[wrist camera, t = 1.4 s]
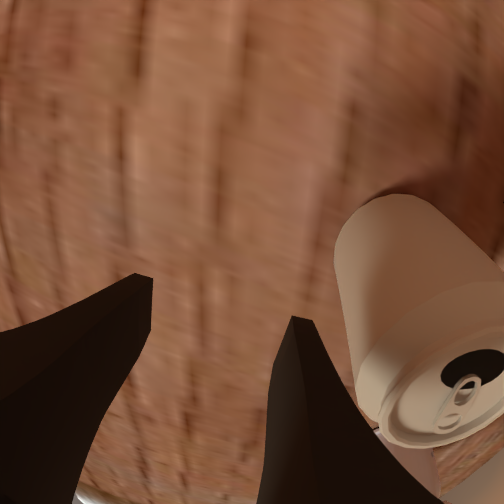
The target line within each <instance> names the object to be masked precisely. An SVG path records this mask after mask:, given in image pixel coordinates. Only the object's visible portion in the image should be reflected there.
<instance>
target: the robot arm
mask: <svg viewBox="0 0 504 504" xmlns="http://www.w3.org/2000/svg"><path fill="white" fill-rule="evenodd" d="M152 291H153V278H150V277H147V276H143V275H140V274H137V273H134V274H132V275H129V276H127V277H125V278H124V279H122V280H120V281H118V282H116V283H114V284H112V285H110V286H108V287H107V288H105V289H103V290H101V291H99V292H97V293H95V294H93V295H91V296H89V297H87V298H86V299H84V300H82V301H80V302H77V303H75V304H73V305H71V306H69V307H67V308H65V309H62V310H60V311H58V312H56V313H54V314H52V315H49V316H47V317H45V318H42V319H40V320H37V321H34V322H32V323H29V324H26V325H23V326H20V327H17V328H14V329H11V330H7V331H4V332H0V504H72V501H73V497H74V493H75V490H76V487H77V484H78V481H79V478H80V475H81V471H82V468H83V466H84V463H85V460H86V458H87V455H88V452H89V450H90V447H91V444H92V442H93V440H94V437H95V435H96V432H97V430H98V428H99V425H100V423H101V421H102V419H103V417H104V415H105V413H106V411H107V409H108V408H109V406H110V404H111V403H112V401H113V399H114V397H115V396H116V394H117V392H118V391H119V389H120V387H121V386H122V384H123V382H124V381H125V379H126V378H127V376H128V374H129V373H130V371H131V369H132V368H133V366H134V364H135V363H136V361H137V359H138V357H139V356H140V353H141V351H142V349H143V347H144V345H145V342H146V340H147V338H148V335H149V333H150V331H151V311H152ZM433 448H434V447H432V448H426V449H417V448H404V447H402V446H399V445H396V444H393V443H391V442H389V441H388V440H387V439H386V438H385V437H384V436H383V435H382V434H381V433H380V431H379V428H378V429H376V430H372V428H371V427H370V426H369V424H368V423H367V421H366V420H365V419H364V417H363V416H362V414H361V413H360V411H359V410H358V408H357V407H356V405H355V404H354V402H353V400H352V398H351V397H350V395H349V393H348V392H347V390H346V388H345V386H344V384H343V383H342V381H341V379H340V377H339V375H338V373H337V371H336V369H335V367H334V365H333V363H332V361H331V359H330V357H329V355H328V353H327V351H326V349H325V347H324V344H323V342H322V340H321V338H320V336H319V333H318V331H317V329H316V327H315V324H314V323H313V321H312V320H309V319H304V318H300V317H296V316H292V317H291V319H290V322H289V325H288V327H287V330H286V333H285V335H284V338H283V340H282V343H281V346H280V348H279V351H278V353H277V356H276V358H275V361H274V363H273V369H272V374H271V380H270V386H269V392H268V406H267V424H266V441H265V457H264V466H263V472H262V478H261V483H260V488H259V494H258V499H257V503H256V504H452V503H449V502H447V501H443V502H442V501H441V500H439V499H438V498H439V496H440V492H441V485H440V480H439V475H438V470H437V465H436V461H435V456H434V452H433Z"/></svg>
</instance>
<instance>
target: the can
mask: <svg viewBox="0 0 504 504" xmlns="http://www.w3.org/2000/svg"><path fill="white" fill-rule="evenodd" d="M334 267H335V272H336V277H337V282H338V287H339V292H340V298H341V303H342V308H343V314H344V319H345V325H346V331H347V337H348V343H349V349H350V356H351V362H352V369H353V376H354V383H355V390H356V395H357V400H358V405H359V407H360V408H361V409H362V410H363V411H364V412H365V414H366V415H367V416H368V417H369V418H370V419H371V420H373V421H375V422H378V423H379V431H380V433H381V434H382V435H383V436H384V437H385V438H386V439H387V440H388V441H389V442H391V443H393V444H396V445H399V446H402V447H404V448H417V449H426V448H432V447H438V446H443V445H447V444H450V443H452V442H455V441H458V440H461V439H464V438H466V437H468V436H470V435H472V434H473V433H475V432H477V431H479V430H481V429H483V428H484V427H486V426H487V425H489V424H490V423H491V422H493V421H494V420H495V419H497V418H498V417H499V416H501V415H502V414H503V413H504V272H503V271H502V270H501V269H500V268H499V267H498V266H497V265H496V264H495V263H494V262H493V261H492V260H491V259H490V258H489V257H488V256H487V255H486V254H485V253H484V252H483V251H482V250H481V249H480V248H479V247H478V246H477V245H476V244H475V243H474V242H473V241H472V240H471V239H470V238H469V237H468V236H467V235H466V234H464V233H463V232H462V231H461V230H460V229H459V228H458V227H457V226H456V225H455V224H453V223H452V222H451V221H450V220H449V219H448V218H447V217H446V216H444V215H443V214H442V213H441V212H440V211H439V210H437V209H436V208H435V207H434V206H433V205H432V204H430V203H429V202H427V201H425V200H422V199H420V198H418V197H416V196H414V195H405V194H390V195H387V196H383V197H379V198H375V199H373V200H371V201H370V202H368V203H367V204H365V205H364V206H362V207H360V208H359V209H357V210H356V211H355V212H354V214H353V215H352V216H351V217H350V218H349V219H348V221H347V222H346V223H345V224H344V225H343V227H342V229H341V232H340V234H339V236H338V239H337V241H336V243H335V252H334Z"/></svg>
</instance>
